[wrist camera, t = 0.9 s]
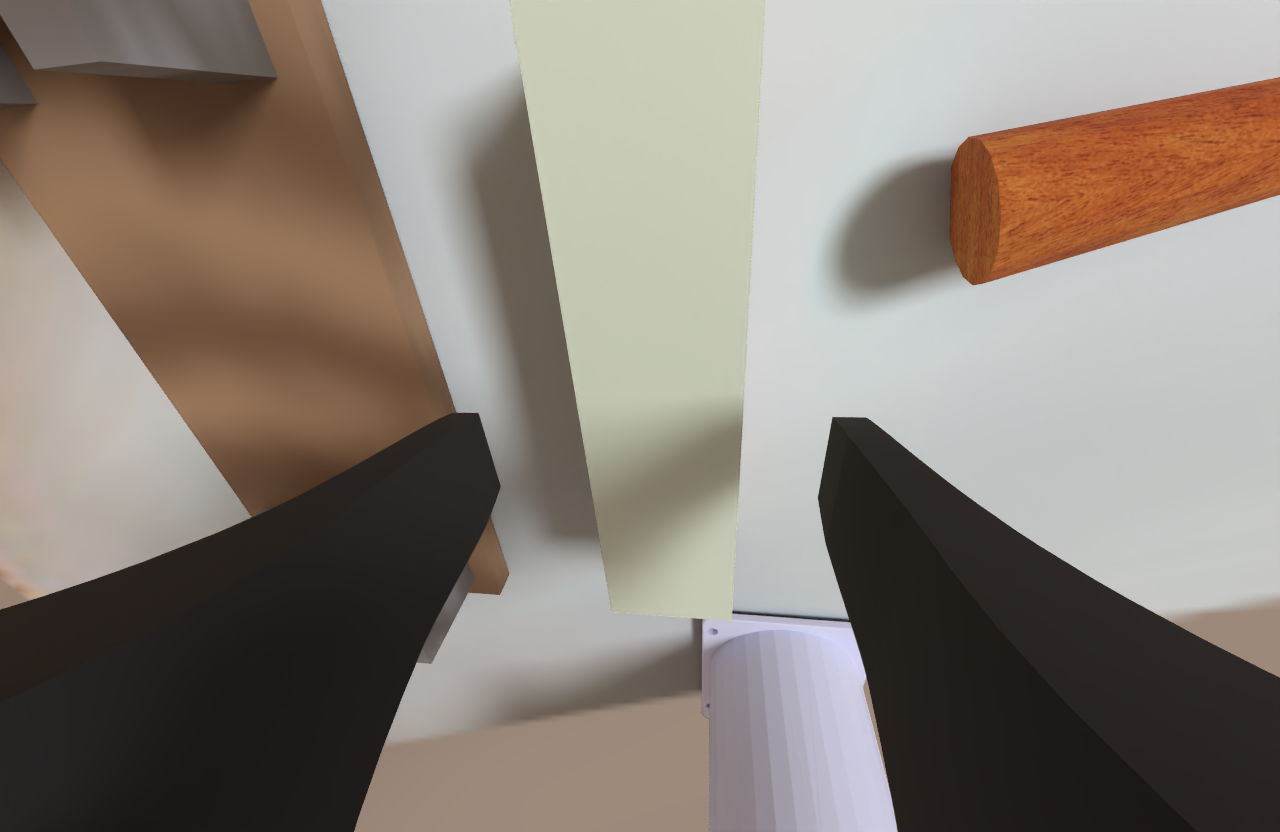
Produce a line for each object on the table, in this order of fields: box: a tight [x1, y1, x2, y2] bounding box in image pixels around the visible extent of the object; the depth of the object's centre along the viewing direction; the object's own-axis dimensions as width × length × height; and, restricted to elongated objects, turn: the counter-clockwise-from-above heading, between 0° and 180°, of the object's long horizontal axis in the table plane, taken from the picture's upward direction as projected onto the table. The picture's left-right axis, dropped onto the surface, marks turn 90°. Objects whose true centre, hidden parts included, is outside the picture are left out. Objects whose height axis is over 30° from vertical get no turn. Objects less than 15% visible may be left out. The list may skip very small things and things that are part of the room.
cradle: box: [0, 0, 509, 664], centre depth 15 cm, size 25×11×5 cm, turn 4°
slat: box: [509, 0, 765, 621], centre depth 13 cm, size 16×4×5 cm, turn 4°
